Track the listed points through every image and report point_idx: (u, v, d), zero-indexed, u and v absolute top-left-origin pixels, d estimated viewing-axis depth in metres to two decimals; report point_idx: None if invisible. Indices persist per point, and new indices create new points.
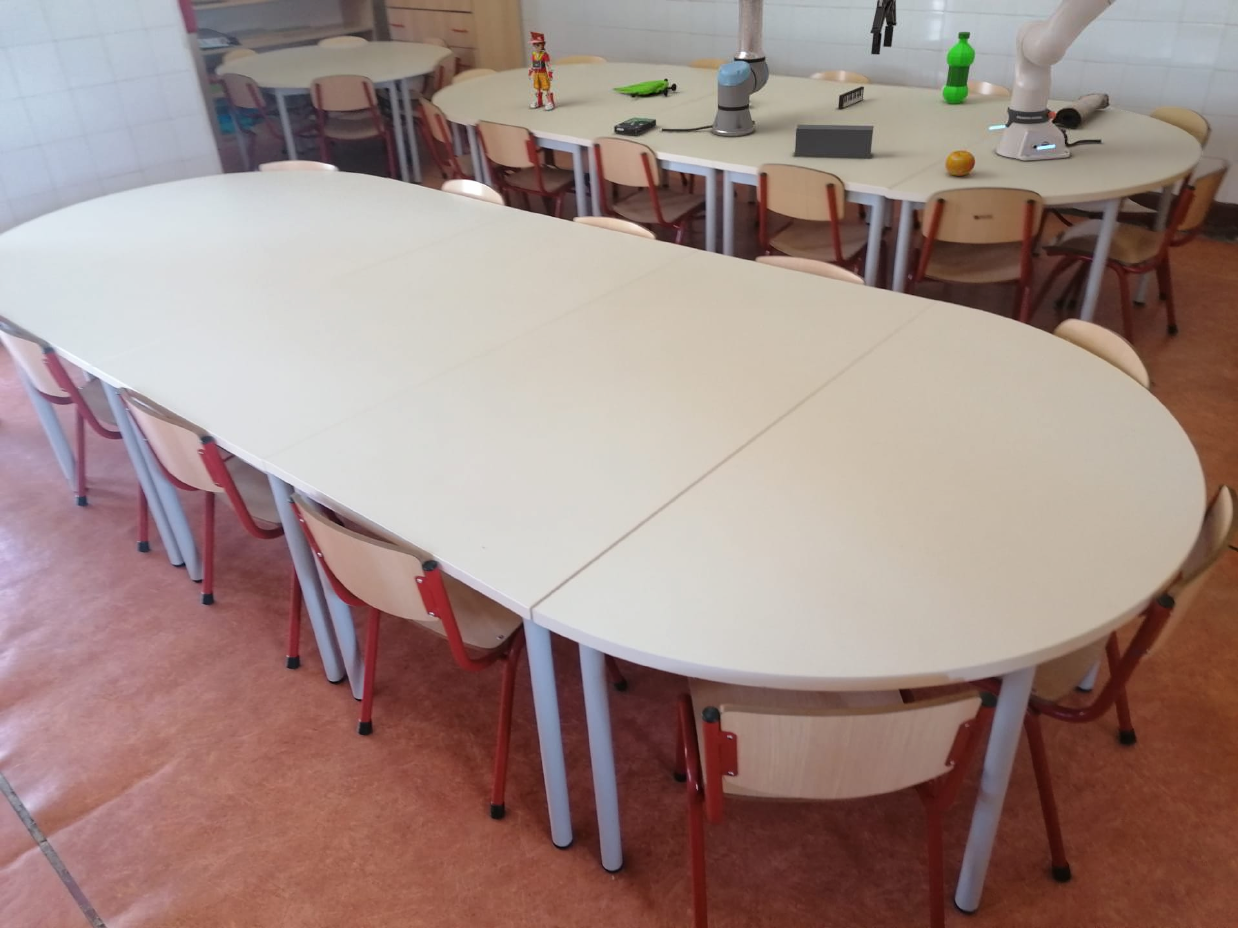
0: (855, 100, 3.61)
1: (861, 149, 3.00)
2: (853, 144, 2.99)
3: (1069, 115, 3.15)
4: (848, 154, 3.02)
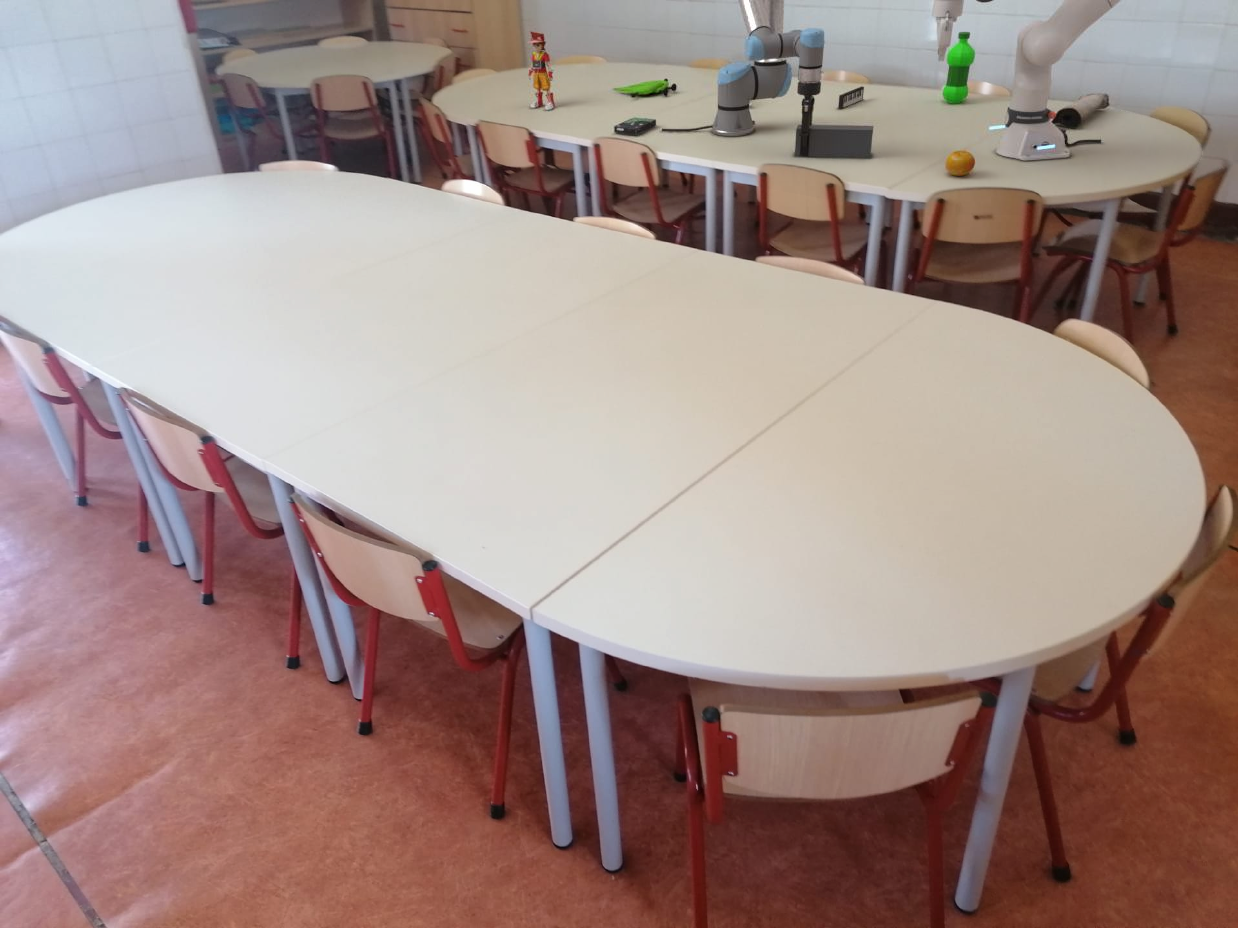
0: (855, 100, 3.61)
1: (861, 149, 3.00)
2: (853, 144, 2.99)
3: (1069, 115, 3.15)
4: (848, 154, 3.02)
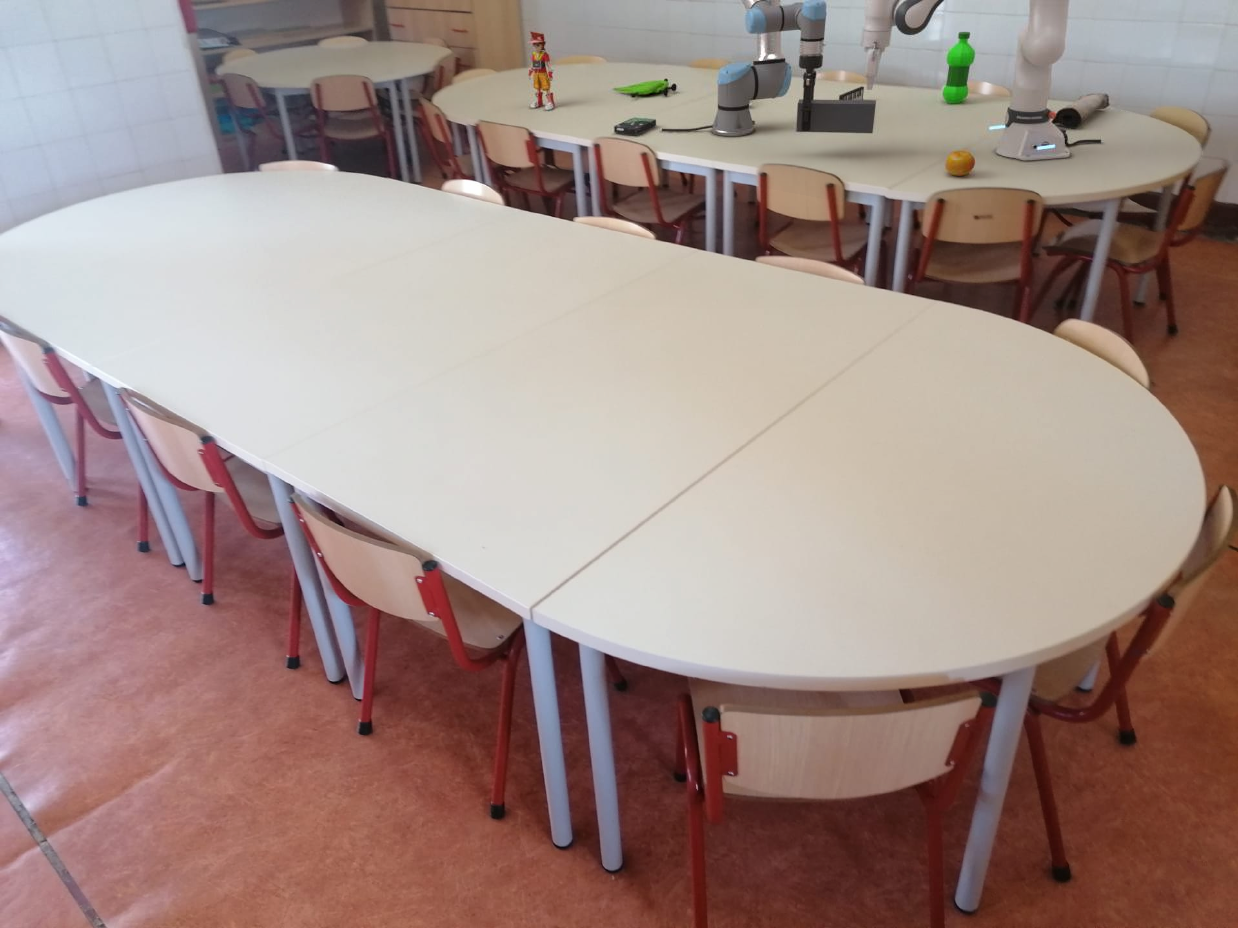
0: None
1: (864, 124, 2.95)
2: (856, 119, 2.95)
3: (1069, 115, 3.15)
4: (850, 129, 2.97)
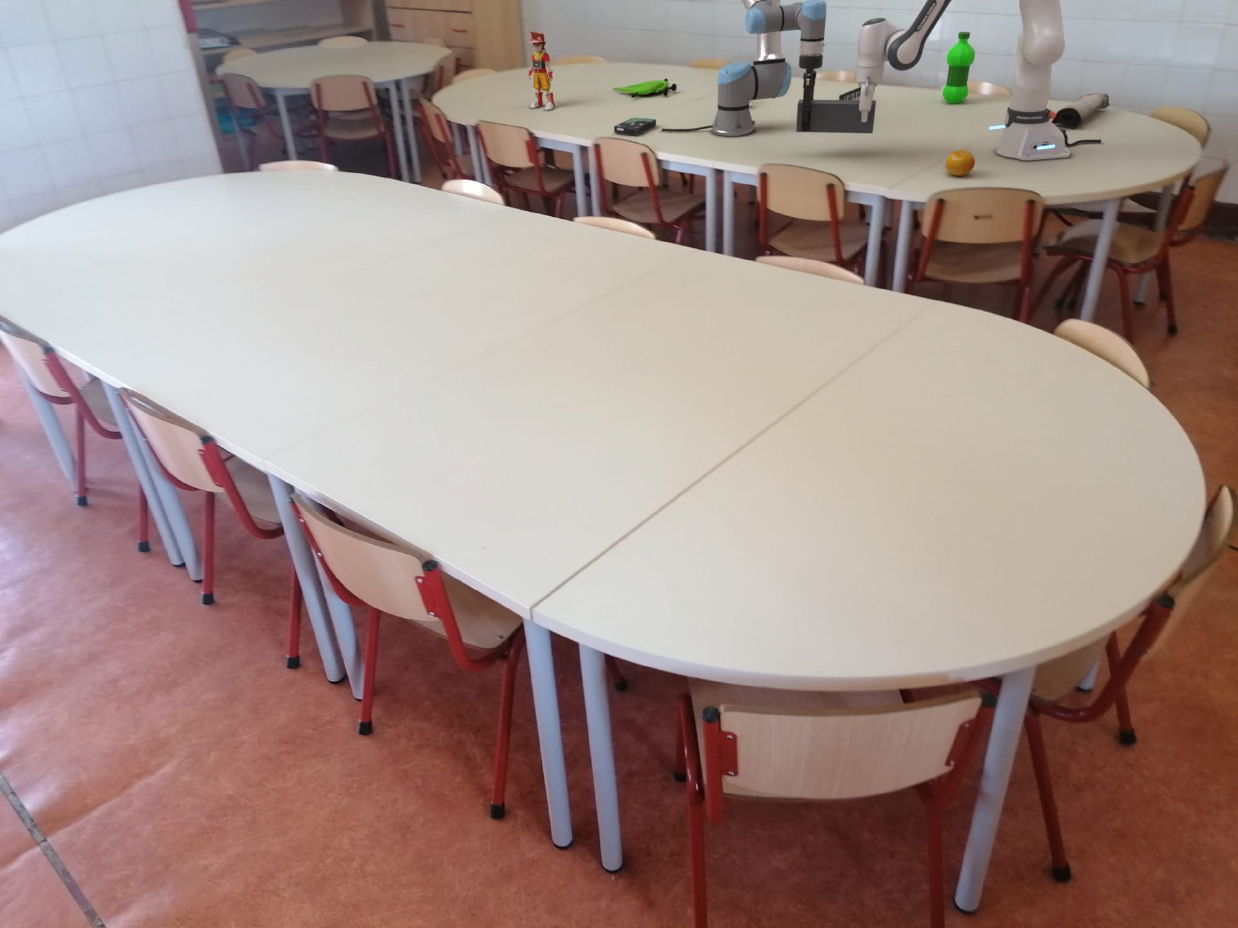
0: None
1: (864, 124, 2.95)
2: (856, 119, 2.95)
3: (1069, 115, 3.15)
4: (850, 130, 2.97)
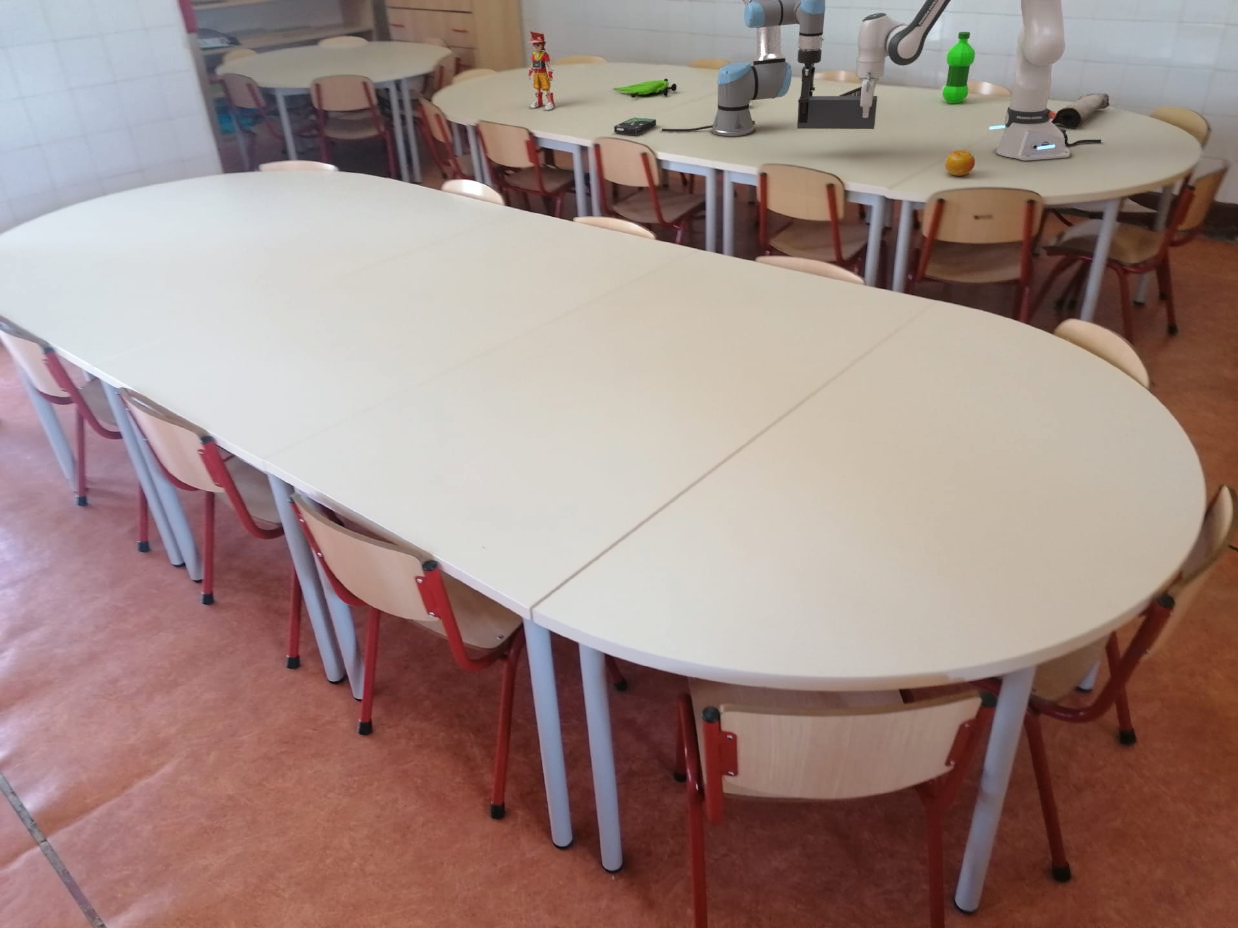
0: None
1: (865, 120, 2.94)
2: (857, 115, 2.94)
3: (1069, 115, 3.15)
4: (851, 125, 2.96)
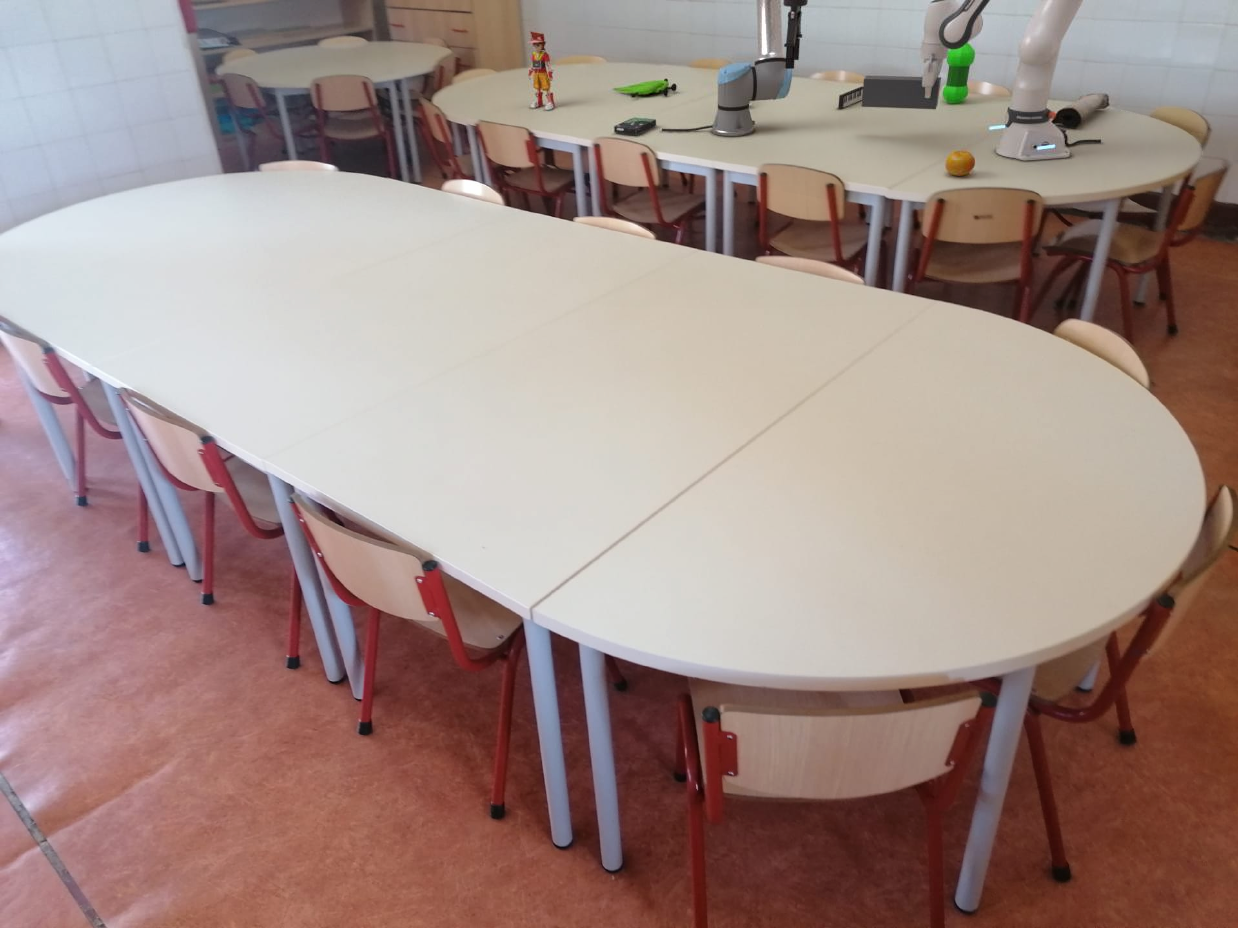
0: (855, 100, 3.61)
1: (927, 100, 3.06)
2: (920, 95, 3.06)
3: (1069, 115, 3.15)
4: (914, 105, 3.08)
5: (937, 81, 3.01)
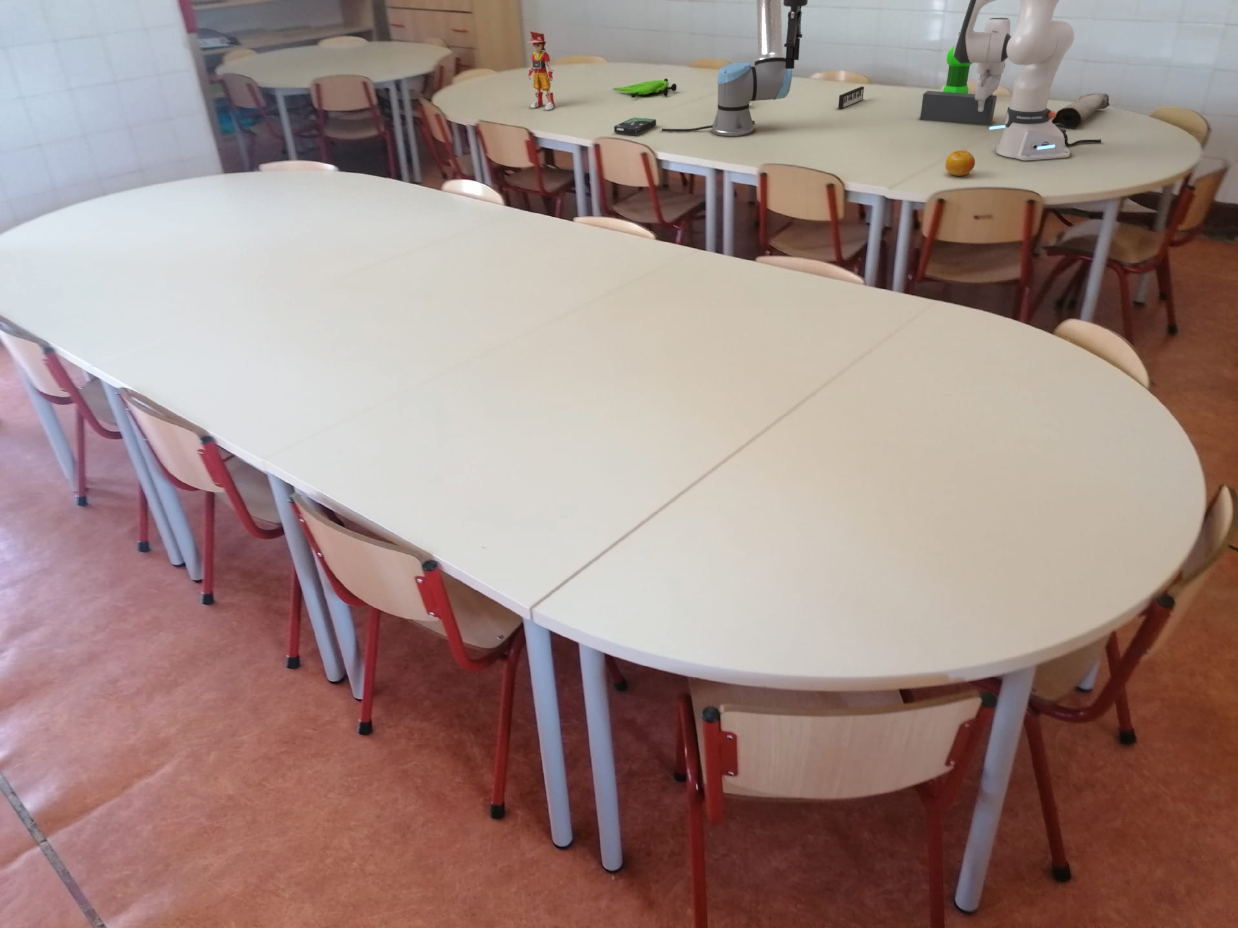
0: (855, 100, 3.61)
1: (981, 116, 3.25)
2: (974, 111, 3.25)
3: (1069, 115, 3.15)
4: (969, 121, 3.28)
5: (991, 99, 3.20)
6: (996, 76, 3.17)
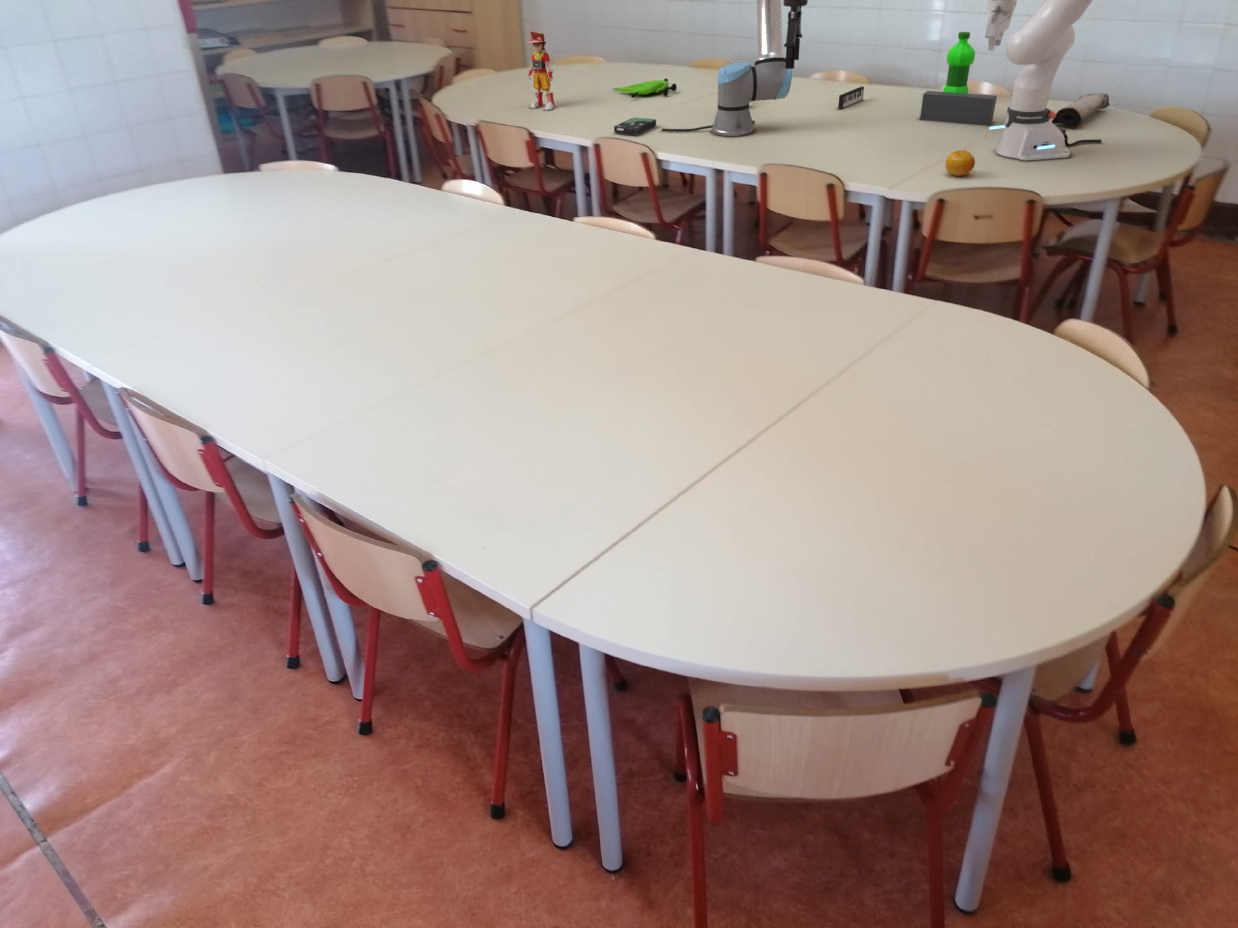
0: (855, 100, 3.61)
1: (981, 116, 3.25)
2: (974, 111, 3.25)
3: (1069, 115, 3.15)
4: (969, 121, 3.28)
5: (991, 99, 3.20)
6: (1007, 13, 3.05)
